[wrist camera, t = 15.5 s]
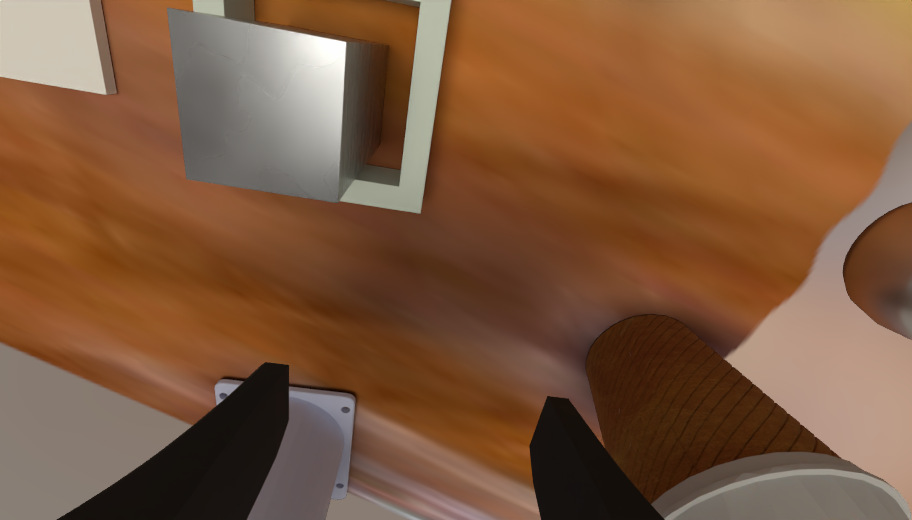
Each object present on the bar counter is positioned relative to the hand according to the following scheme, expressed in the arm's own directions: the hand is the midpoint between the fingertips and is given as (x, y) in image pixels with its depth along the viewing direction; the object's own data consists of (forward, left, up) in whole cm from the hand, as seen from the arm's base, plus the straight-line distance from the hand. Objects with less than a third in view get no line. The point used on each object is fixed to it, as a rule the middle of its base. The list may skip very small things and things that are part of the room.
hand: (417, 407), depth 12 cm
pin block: (+7, +5, -10) cm, 13 cm away
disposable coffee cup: (-5, -13, -11) cm, 18 cm away
